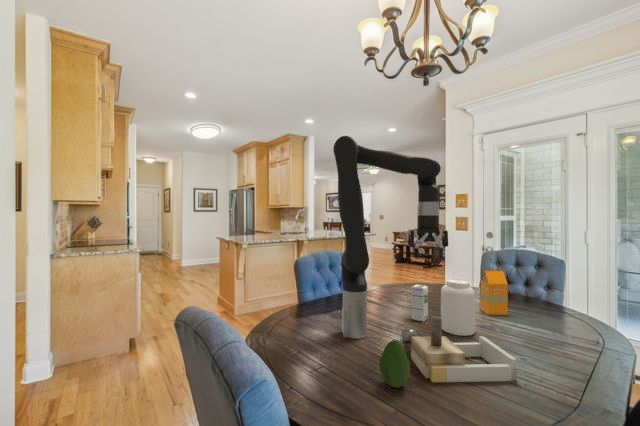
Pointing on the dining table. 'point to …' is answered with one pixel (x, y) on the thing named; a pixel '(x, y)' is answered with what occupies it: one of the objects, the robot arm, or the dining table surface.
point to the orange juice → (494, 293)
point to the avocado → (394, 364)
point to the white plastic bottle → (458, 307)
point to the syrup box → (419, 302)
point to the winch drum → (408, 338)
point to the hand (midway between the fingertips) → (427, 258)
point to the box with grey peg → (435, 349)
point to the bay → (478, 365)
